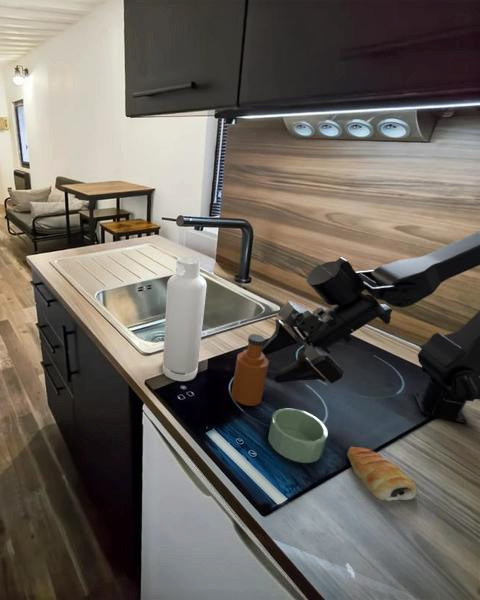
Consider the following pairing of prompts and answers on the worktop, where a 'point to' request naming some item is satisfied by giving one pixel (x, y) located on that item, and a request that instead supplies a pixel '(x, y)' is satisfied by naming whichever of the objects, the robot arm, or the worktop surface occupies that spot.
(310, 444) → the green bowl
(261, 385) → the amber bottle
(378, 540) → the worktop surface
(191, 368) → the bottle
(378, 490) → the pastry
